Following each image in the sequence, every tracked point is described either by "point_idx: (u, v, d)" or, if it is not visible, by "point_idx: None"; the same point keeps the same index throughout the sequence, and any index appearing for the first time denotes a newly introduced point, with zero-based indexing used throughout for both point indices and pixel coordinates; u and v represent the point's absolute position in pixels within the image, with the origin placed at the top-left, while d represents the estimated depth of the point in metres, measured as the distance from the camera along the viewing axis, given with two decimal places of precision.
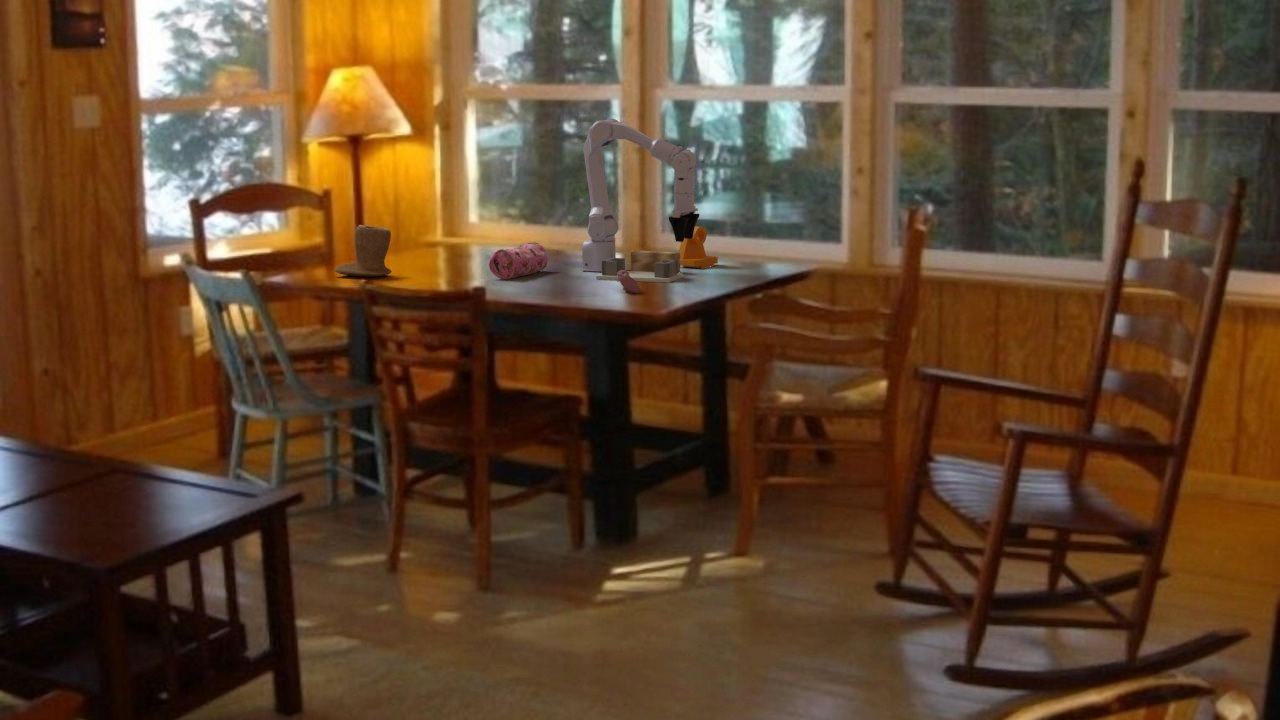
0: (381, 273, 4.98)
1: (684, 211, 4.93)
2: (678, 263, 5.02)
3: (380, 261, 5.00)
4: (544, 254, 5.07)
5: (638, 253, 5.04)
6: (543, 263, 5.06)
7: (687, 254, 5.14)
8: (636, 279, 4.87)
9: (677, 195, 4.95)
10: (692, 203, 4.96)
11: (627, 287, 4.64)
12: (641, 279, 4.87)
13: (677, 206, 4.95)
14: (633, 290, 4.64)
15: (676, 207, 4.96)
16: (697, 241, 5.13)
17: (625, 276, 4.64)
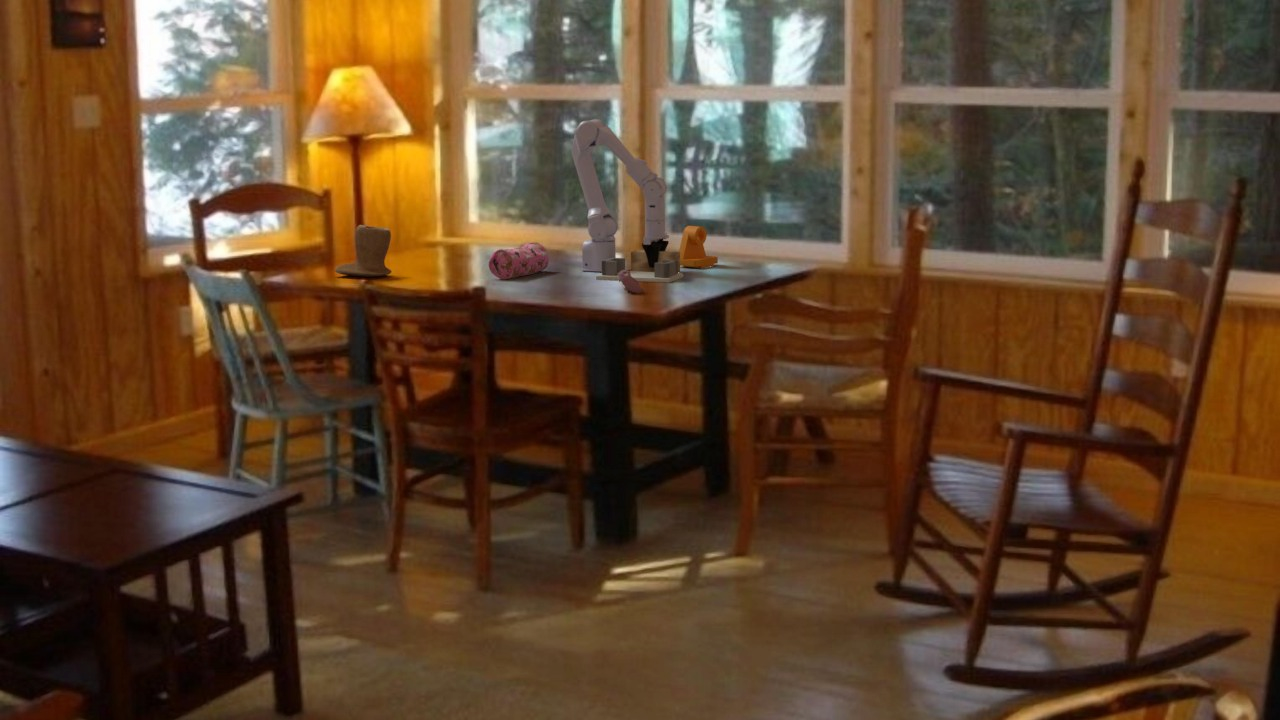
0: (381, 273, 4.98)
1: (655, 238, 4.99)
2: (678, 263, 5.02)
3: (380, 261, 5.00)
4: (545, 254, 5.06)
5: (638, 253, 5.04)
6: (544, 263, 5.06)
7: (687, 254, 5.14)
8: (636, 279, 4.87)
9: (648, 222, 5.00)
10: (662, 230, 5.01)
11: (629, 287, 4.64)
12: (641, 279, 4.87)
13: (648, 233, 5.01)
14: (634, 290, 4.64)
15: (647, 234, 5.01)
16: (697, 241, 5.13)
17: (627, 276, 4.64)
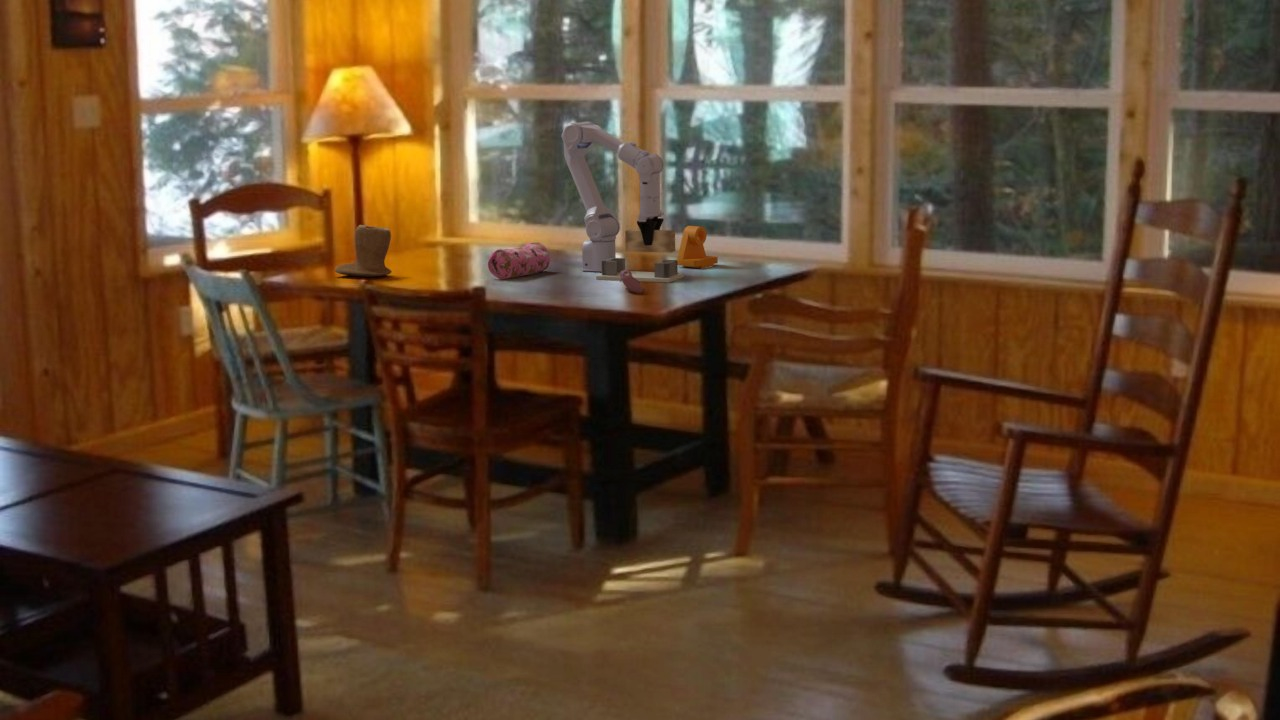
0: (381, 273, 4.98)
1: (650, 215, 4.93)
2: (673, 241, 4.98)
3: (380, 261, 5.00)
4: (546, 254, 5.06)
5: (633, 231, 4.99)
6: (544, 263, 5.05)
7: (687, 254, 5.14)
8: (636, 279, 4.87)
9: (643, 199, 4.95)
10: (658, 207, 4.96)
11: (630, 287, 4.64)
12: (641, 279, 4.87)
13: (643, 210, 4.96)
14: (636, 290, 4.64)
15: (642, 211, 4.96)
16: (697, 241, 5.13)
17: (628, 276, 4.64)
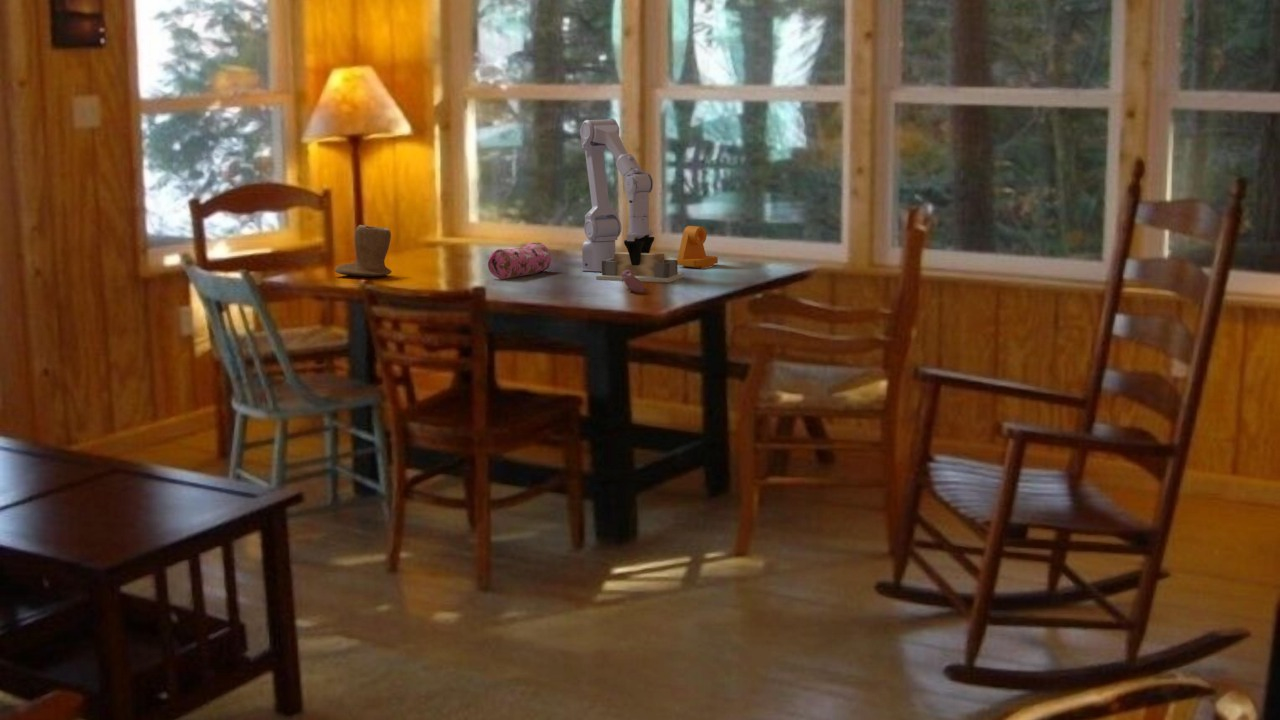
0: (381, 273, 4.98)
1: (639, 235, 4.86)
2: None
3: (380, 261, 5.00)
4: (547, 254, 5.06)
5: (621, 254, 4.92)
6: (545, 263, 5.05)
7: (687, 254, 5.14)
8: None
9: (632, 218, 4.88)
10: (647, 226, 4.89)
11: (632, 287, 4.64)
12: (641, 279, 4.87)
13: (632, 229, 4.88)
14: (637, 289, 4.65)
15: (631, 230, 4.89)
16: (697, 241, 5.13)
17: (630, 276, 4.65)
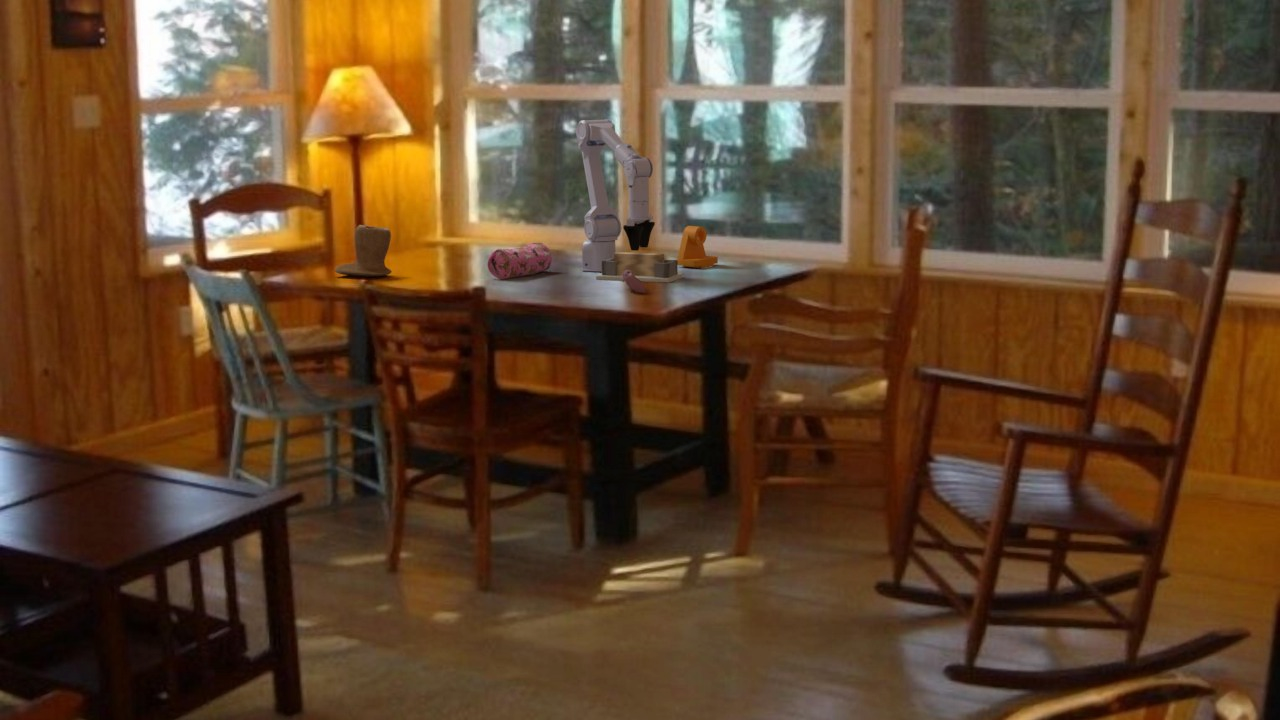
0: (381, 273, 4.98)
1: (639, 219, 4.85)
2: None
3: (380, 261, 5.00)
4: (547, 254, 5.06)
5: (621, 254, 4.92)
6: (546, 263, 5.05)
7: (687, 254, 5.14)
8: None
9: (631, 203, 4.87)
10: (646, 211, 4.88)
11: (632, 287, 4.64)
12: (641, 279, 4.87)
13: (632, 214, 4.88)
14: (638, 289, 4.65)
15: (631, 215, 4.88)
16: (697, 241, 5.13)
17: (630, 276, 4.65)
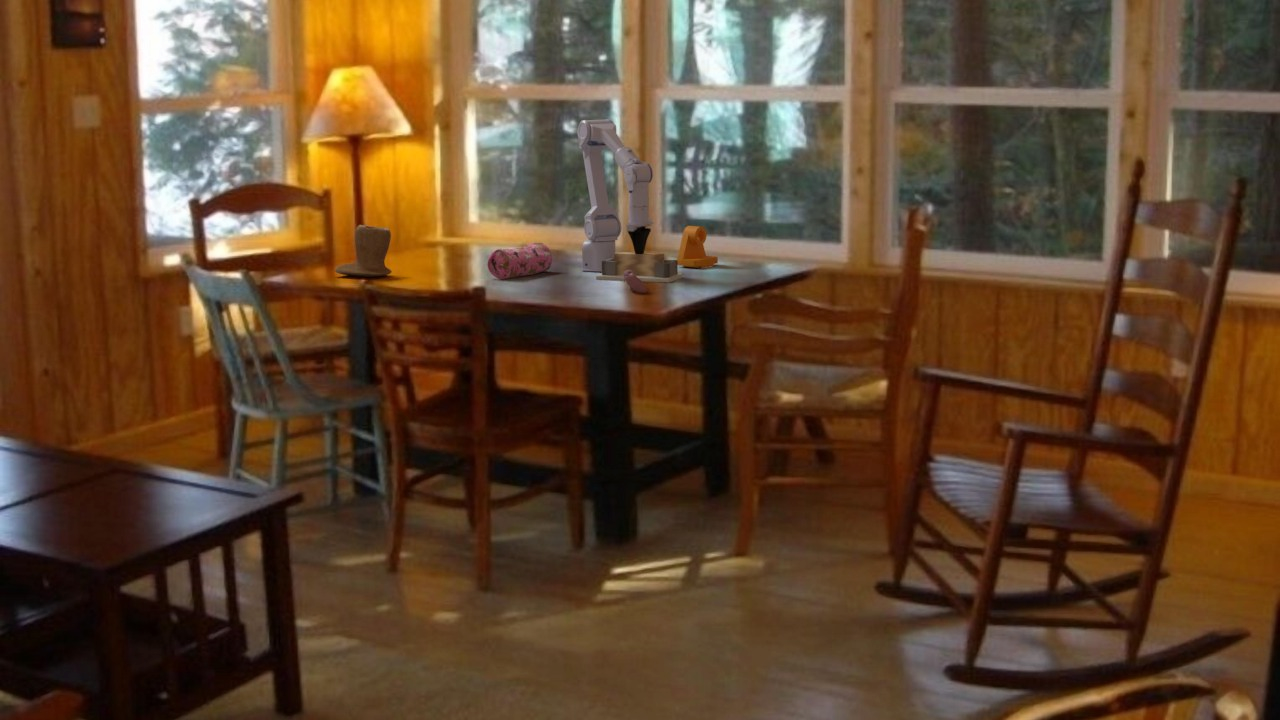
0: (381, 273, 4.98)
1: (639, 225, 4.86)
2: None
3: (380, 261, 5.00)
4: (548, 255, 5.05)
5: (621, 254, 4.92)
6: (546, 264, 5.05)
7: (687, 254, 5.14)
8: None
9: (632, 208, 4.87)
10: (646, 216, 4.88)
11: (633, 287, 4.65)
12: (641, 279, 4.87)
13: (632, 220, 4.88)
14: (639, 289, 4.65)
15: (631, 221, 4.88)
16: (697, 241, 5.13)
17: (631, 276, 4.65)
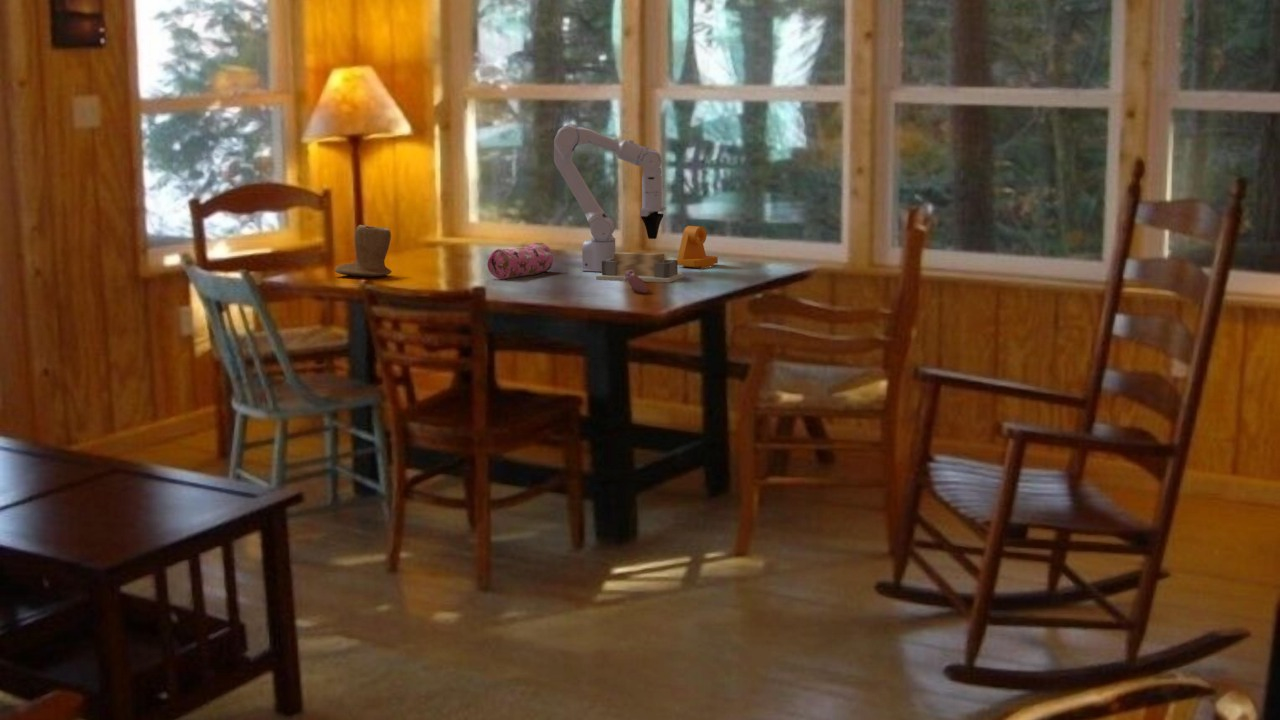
0: (381, 273, 4.98)
1: (652, 210, 5.01)
2: None
3: (380, 261, 5.00)
4: (548, 255, 5.05)
5: (621, 254, 4.92)
6: (547, 264, 5.04)
7: (687, 254, 5.14)
8: None
9: (645, 194, 5.02)
10: (659, 202, 5.03)
11: (635, 287, 4.65)
12: None
13: (645, 205, 5.03)
14: (641, 289, 4.65)
15: (644, 206, 5.03)
16: (697, 241, 5.13)
17: (633, 276, 4.65)
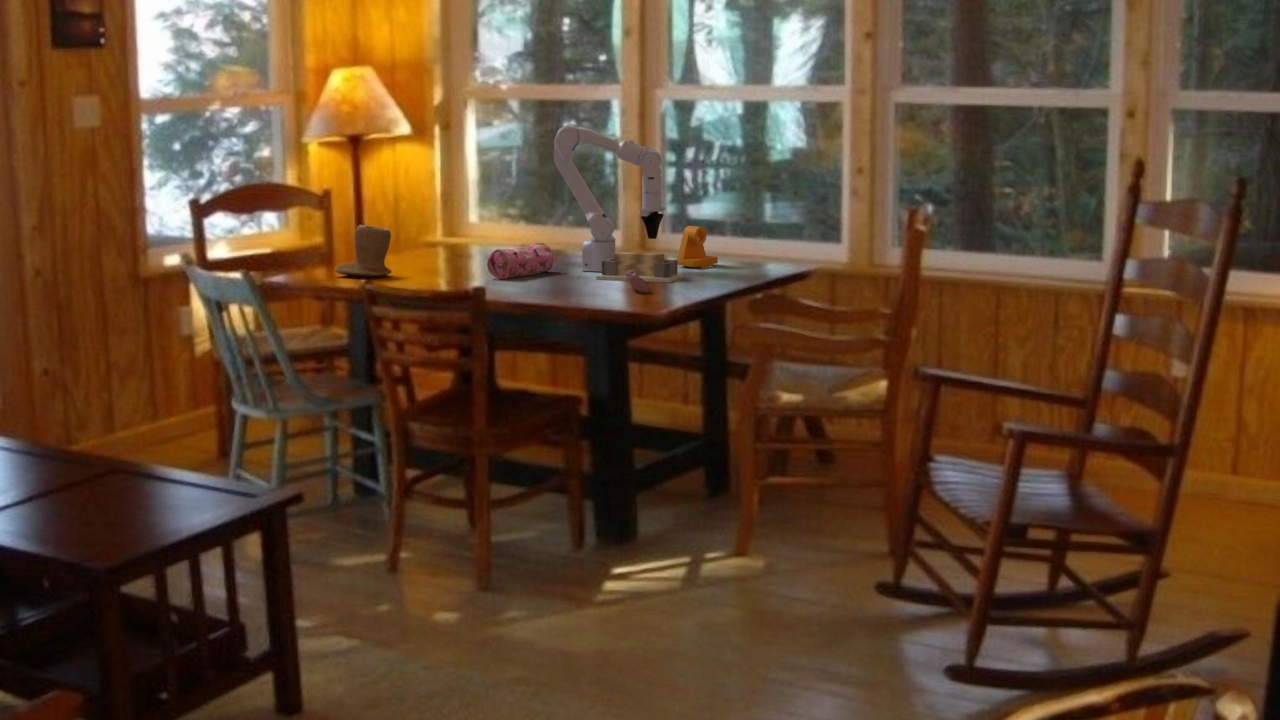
0: (381, 273, 4.98)
1: (652, 210, 5.01)
2: None
3: (380, 261, 5.00)
4: (549, 255, 5.05)
5: (621, 254, 4.92)
6: (547, 264, 5.04)
7: (687, 254, 5.14)
8: None
9: (645, 194, 5.02)
10: (659, 202, 5.03)
11: (636, 287, 4.65)
12: None
13: (645, 205, 5.03)
14: (642, 289, 4.65)
15: (644, 206, 5.03)
16: (697, 241, 5.13)
17: (634, 276, 4.65)
